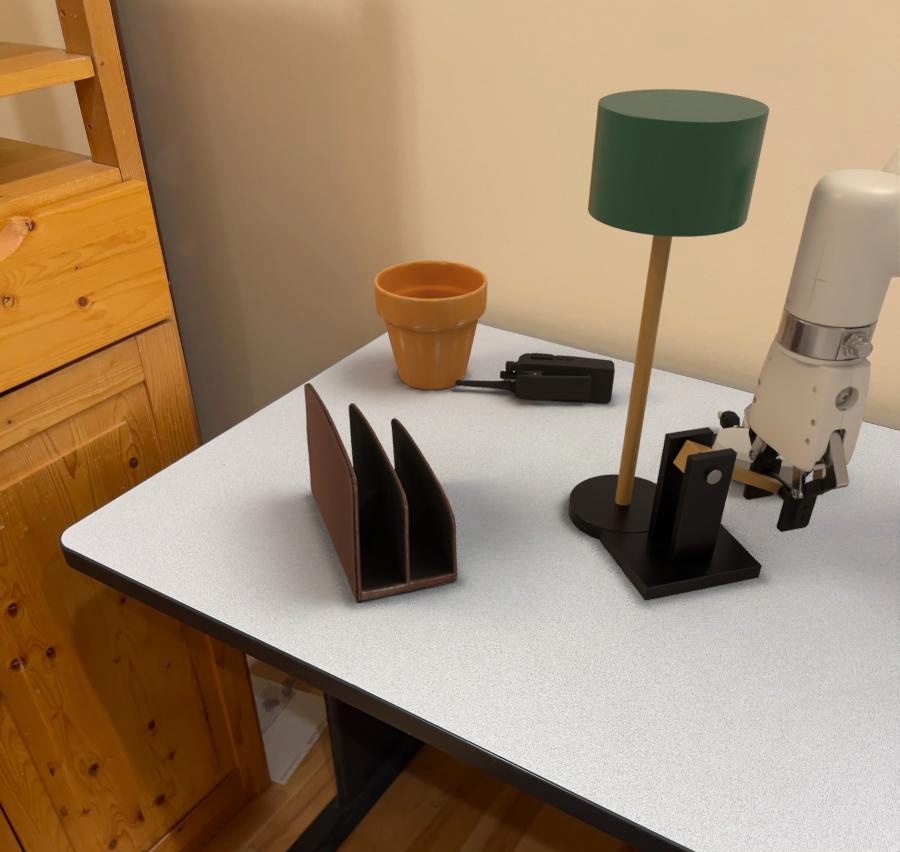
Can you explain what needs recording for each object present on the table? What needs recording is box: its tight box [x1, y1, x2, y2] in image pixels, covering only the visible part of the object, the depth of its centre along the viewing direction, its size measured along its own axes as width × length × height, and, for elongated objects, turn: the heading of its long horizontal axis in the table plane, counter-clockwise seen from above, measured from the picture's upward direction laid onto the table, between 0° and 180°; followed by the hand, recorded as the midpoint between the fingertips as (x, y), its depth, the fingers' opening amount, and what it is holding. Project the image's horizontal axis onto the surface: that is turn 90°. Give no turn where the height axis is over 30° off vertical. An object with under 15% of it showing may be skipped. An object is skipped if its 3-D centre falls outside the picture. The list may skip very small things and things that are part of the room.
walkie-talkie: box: [455, 352, 616, 403], centre depth 112 cm, size 6×6×20 cm
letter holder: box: [303, 382, 458, 604], centre depth 85 cm, size 10×20×14 cm, turn 19°
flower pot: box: [373, 259, 488, 391], centre depth 114 cm, size 14×14×13 cm
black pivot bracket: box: [599, 426, 763, 602], centre depth 82 cm, size 12×10×13 cm
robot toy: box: [710, 410, 813, 485], centre depth 99 cm, size 12×4×15 cm
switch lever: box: [673, 440, 792, 502], centre depth 82 cm, size 13×5×2 cm, turn 108°
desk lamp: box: [567, 88, 770, 541], centre depth 80 cm, size 13×13×38 cm
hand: (774, 510), depth 86 cm, fingers closed on switch lever, 5 cm apart
